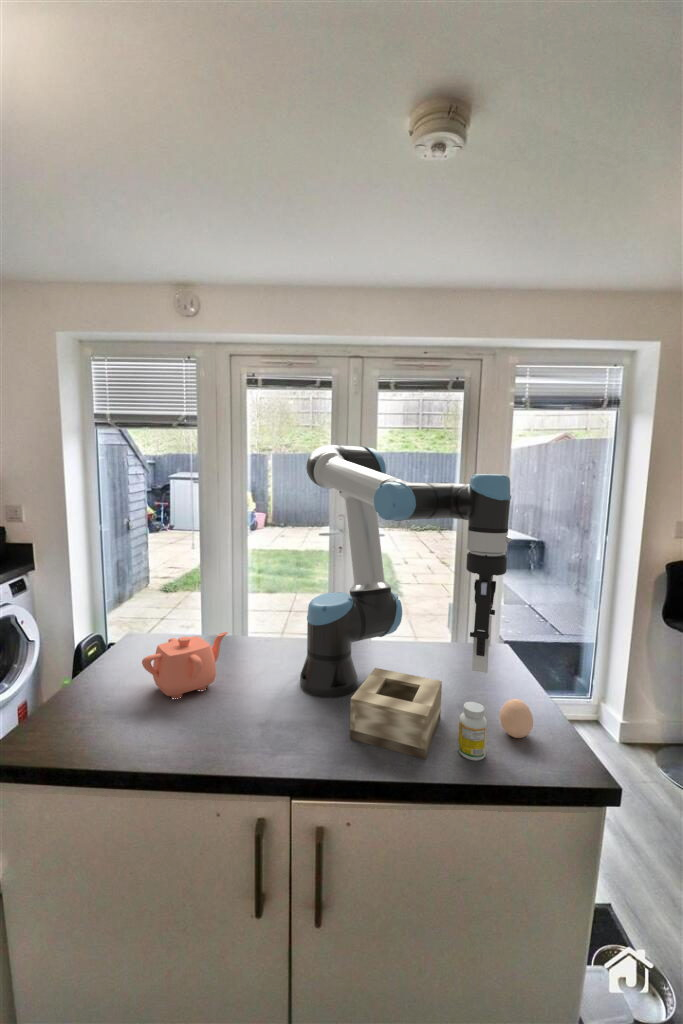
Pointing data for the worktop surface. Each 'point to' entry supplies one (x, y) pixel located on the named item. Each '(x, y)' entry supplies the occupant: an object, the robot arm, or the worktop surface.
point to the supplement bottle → (472, 731)
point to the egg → (516, 718)
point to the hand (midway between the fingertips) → (481, 657)
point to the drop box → (396, 712)
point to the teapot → (184, 664)
